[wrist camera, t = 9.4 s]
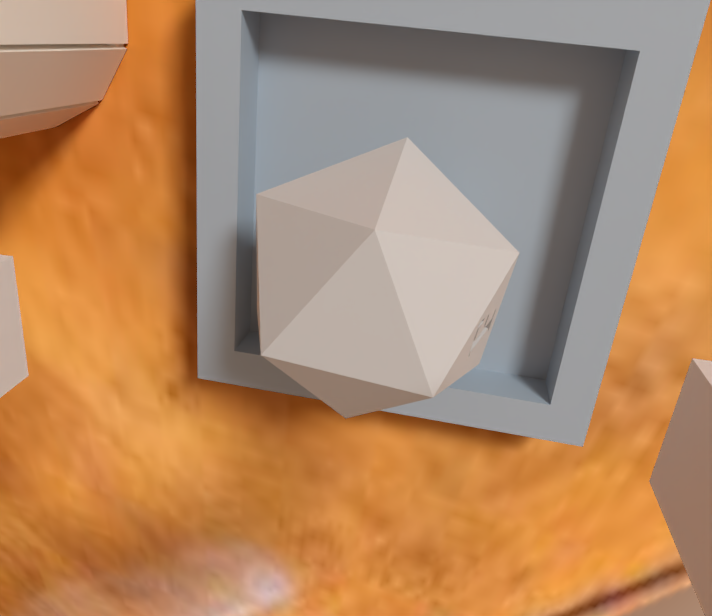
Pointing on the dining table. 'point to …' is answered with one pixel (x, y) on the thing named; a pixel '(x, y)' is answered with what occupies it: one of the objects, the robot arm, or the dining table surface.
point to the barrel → (56, 59)
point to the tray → (450, 165)
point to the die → (376, 280)
